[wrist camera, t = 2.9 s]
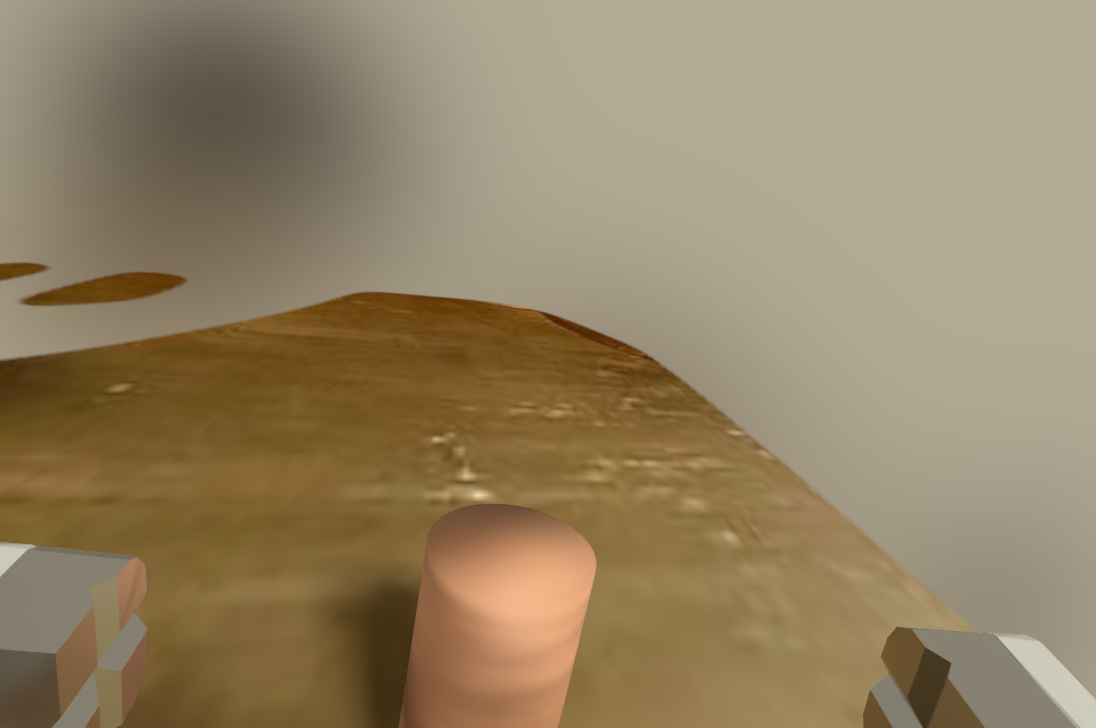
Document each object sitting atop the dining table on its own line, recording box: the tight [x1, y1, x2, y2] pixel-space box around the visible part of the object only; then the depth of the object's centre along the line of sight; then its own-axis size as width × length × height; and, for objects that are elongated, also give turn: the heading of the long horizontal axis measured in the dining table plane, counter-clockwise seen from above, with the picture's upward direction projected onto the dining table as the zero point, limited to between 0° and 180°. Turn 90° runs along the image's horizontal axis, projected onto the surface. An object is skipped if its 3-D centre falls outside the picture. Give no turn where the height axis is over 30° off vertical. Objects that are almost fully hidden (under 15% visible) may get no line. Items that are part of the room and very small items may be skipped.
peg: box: [399, 504, 596, 728], centre depth 23 cm, size 4×4×10 cm
